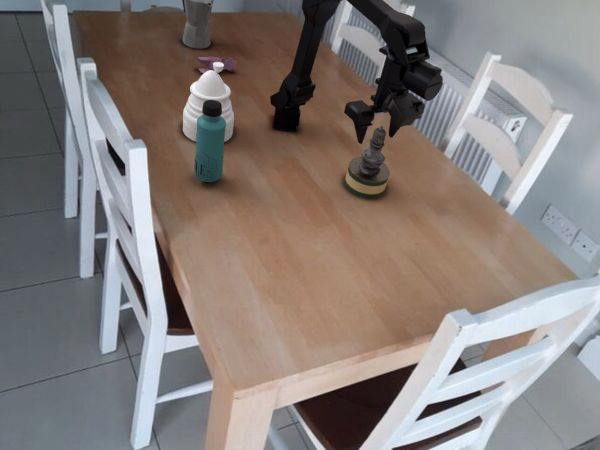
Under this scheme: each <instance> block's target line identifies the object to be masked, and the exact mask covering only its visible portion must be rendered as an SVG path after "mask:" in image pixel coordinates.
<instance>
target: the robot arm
mask: <svg viewBox="0 0 600 450" xmlns="http://www.w3.org/2000/svg"><path fill="white" fill-rule="evenodd" d="M342 1H343V0H302V1H301V2H302V3H301V11H302V13H303V16H304V21H303V26H302V29H301V33H300V37H299V41H298V44H297V48H296V52H295V56H294V60H293V63H292V67H291V71H290V72H289V73H288V74H287V75H286V76H285V78H284V79H283V80H282V82H281V84H280V86H279V89H278V91H277V92H275V93H274V94H271V95H270V96H269V101H270V105H271V106H273V107H274V114H273V115H272V129H273V130H279V131H287V132H293V133H294V132H295V133H296V132H297V129H298V127H299V126H300V125H299V124H300V119H301V115H302V114H301V112H302V111H301V108H300V107H302V106H305V105H306V103H307V102H310V100H311V99H313V98H314V93H315V89H316V86H317V85H316V84H315V83H314V82H313V80H312V77H311V74H312V71H313V67H314V64H315V61H316V57H317V53H318V51H319V47H320V44H321V41H322V36H323V35H324V34H323V33H324V30H325V26H326V24H327V23H328V22H329V21H330V20H331V18H332V17H333V16H334V15H335V14H336V11H337V9H338V7H339V5H340V3H341V2H342ZM346 1H347V2H348V3H349V4H350V5H351V6H352V7H353V8H354V9H356V10H357V11H358V12H359V13H360V14H362V15H363V16H364V17H365V18H366V19H367V20H369V21H370V22H371V24H373V25H374V26H375V27H376V28H377V29H378V30H379V33H380V37H381V39H382V40H383V41H384V43H385V44H386V45H384V46H382V47H380V48H378V52H379V53H381V54H383V55H384V56H385V59H384V62H383V66H382V69H381V73H380V77H377V78H375V80H374V84H376V85H377V88H376V91H375V94H370V98H369V99H370V101H372V103H373V104H370V105H368V103H366V102H365V101H363V100H362V99H360V100H352V101H348V102H346V103H345V106H344V110H343V111H344V112H343V113H344V115H346V116H347V117H348V119H350V120H351V121H352V123H353V126H354V130H355V134H356V139H357V143H358V144H359V145H363V143H364V140H365V138H366V135H367V132H368V128H370V127H372V126H374V125H373V122H374V120H375V116H376V115H381V114H386V113H388V115H389V116H390V119H389V126H388V137H389V138H390V139H391V138H394V137H395V135H397V132H398V131H399V130H400V129H401V128H403V127H406V126H412V125H413V123H414V122H415V121H416V120H420V119H422V116H423V114H424V111H425V108H426V104H425V102H424V101H426V102H430V101H432V100H433V99H435V98H436V97H437V96H438V95H439V93H440V91H441V90H442V88H443V86H444V82H443V80H444V78H443V75H441V74H442V71H443V69H442V68H441V67H439V66H436V65H433V64H431V63H430V62H428V61H427V60H430V59H431V55H430V51H429V47H428V46H429V45H428V41H427V36H426V34H427V33H426V26H425V24H424V23H423V21H421V20H419V19H417V18H415V17H413V16H412V15H410V14H407V13H404V12H402V11H398V10H396V9H394V8H393V7H392V6H391V5H389V4H388V3H387V2H386V1H384V0H346ZM414 49H416V51H414V52H410V53H408V52H407V51H411V50H414ZM414 94H415V95H414ZM419 98H421V99H423V100H424V101H423V100H421V99H419Z"/></svg>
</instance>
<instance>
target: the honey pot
mask: <svg viewBox="0 0 600 450" xmlns="http://www.w3.org/2000/svg"><path fill="white" fill-rule="evenodd" d="M223 67H225V66H224V64H223V63H221V62H214V63H213V68H214V70H215V71H213V70H209V71H207V72H205V73H202V74H201V75H200V77H199V78H198V79H197V80H196V81H194V82H192V83H191V85H190V87H189V91H190V95H189V96H188V97H187V101H186V104H185V106H184V108H183V111H182V112H183V115H182V132H183V134H184V135H185V136H186V138H187V139H189V140H191V141H193V142H196V135H197V119H198V118H199V117H200V116H201V115H203V113H202V108H203V103H204V102H205V101H207V100H216V101H219V102H220V103H221V105H222V114H221V115H220V116H221V117H222V118H224V120H225V121H226V126H225V138H224V143H225V142H227V141H229V140H230V139H231V138H232V136H233V134H234V124H235V123H234V122H235V112H234V111H233V110H234V109H233V106H232V101H231V99H230V96H231V94H232V90H231V88H230V87H229V86H228V84H226V83H224V80H223V79H222V77H221V75H220V74H219V73H220V72H222V71H223V70H222V69H223Z"/></svg>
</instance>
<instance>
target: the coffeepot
mask: <svg viewBox="0 0 600 450" xmlns="http://www.w3.org/2000/svg"><path fill="white" fill-rule="evenodd" d="M213 5H214V0H182V8H183V13H184V14H185V17H186V21H185V25H184V28H183V29H184V30H183V34H182V38H181V39H182V40H181V41H182V43H183V44H184V45H185V47H188V48H191V49H197V50H203V49H207V48H209V47H210V45H212V43H211V34H210V26H209V21H210V19H211V15H212V11H213Z"/></svg>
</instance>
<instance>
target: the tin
mask: <svg viewBox="0 0 600 450" xmlns="http://www.w3.org/2000/svg"><path fill="white" fill-rule="evenodd" d="M360 163H362V159H361V156H357V157H354V158H352V159H351V160H350V161H349V163H348V167H347V170H346V174H345V177H344V178H345V179H344V185H345V187H346V189H347V190H348V191H349V192H350V193H351V194H353V195H355V196H357V197H360V198H364V199H376V198H379V197H381V196H382V195H383V194H384V193H385V190H386V186H387V185H388V181H389V178H390V176H391V170H390V168H389V167H388V166H387V164H385V163H384V162H383V163H382V164H381V166H379V168H380V172H379V173H378V174H376V175H369V174H365V173H363V172H362V171H361V170H360V169H359V164H360Z"/></svg>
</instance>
